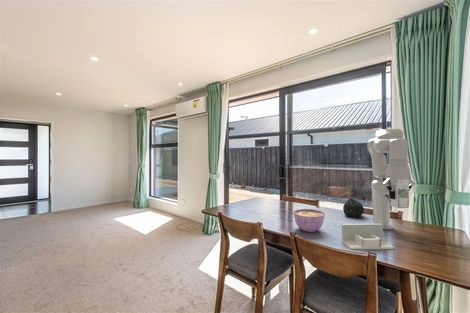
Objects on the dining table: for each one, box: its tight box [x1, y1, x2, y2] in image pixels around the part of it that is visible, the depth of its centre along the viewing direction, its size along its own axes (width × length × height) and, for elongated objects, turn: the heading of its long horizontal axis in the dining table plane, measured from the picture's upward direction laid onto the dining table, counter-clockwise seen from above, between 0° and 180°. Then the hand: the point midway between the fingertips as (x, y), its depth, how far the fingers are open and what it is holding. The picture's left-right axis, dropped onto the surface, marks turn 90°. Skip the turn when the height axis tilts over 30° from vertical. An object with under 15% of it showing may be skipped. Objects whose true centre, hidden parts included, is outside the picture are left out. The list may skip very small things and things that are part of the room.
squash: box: [342, 197, 365, 218], centre depth 177 cm, size 14×15×15 cm
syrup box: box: [389, 179, 410, 209], centre depth 113 cm, size 6×6×14 cm
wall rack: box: [341, 223, 395, 250], centre depth 122 cm, size 11×22×10 cm, turn 88°
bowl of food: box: [292, 208, 326, 233], centre depth 148 cm, size 20×20×12 cm
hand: (398, 198), depth 113 cm, fingers closed on syrup box, 5 cm apart
